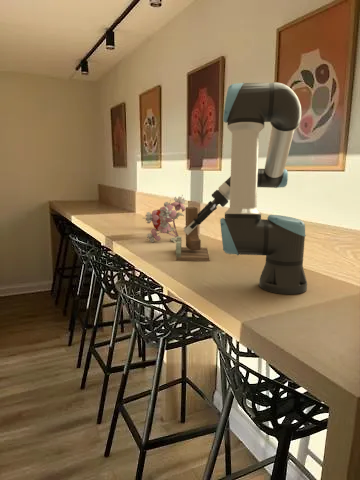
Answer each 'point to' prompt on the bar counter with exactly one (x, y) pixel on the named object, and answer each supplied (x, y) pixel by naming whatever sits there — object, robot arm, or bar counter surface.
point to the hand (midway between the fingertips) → (185, 231)
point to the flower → (166, 219)
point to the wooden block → (192, 237)
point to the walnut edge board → (190, 253)
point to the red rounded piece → (157, 220)
